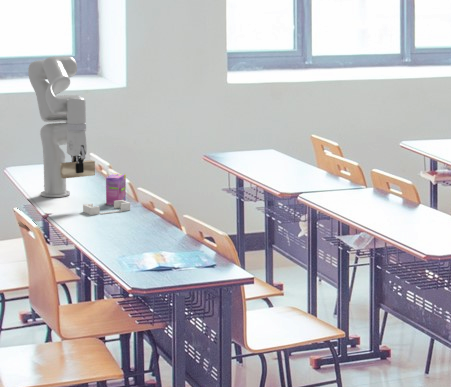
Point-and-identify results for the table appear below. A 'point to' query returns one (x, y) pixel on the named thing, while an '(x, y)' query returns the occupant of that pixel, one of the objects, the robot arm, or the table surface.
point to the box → (115, 188)
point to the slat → (70, 169)
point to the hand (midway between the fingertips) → (77, 171)
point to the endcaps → (96, 210)
